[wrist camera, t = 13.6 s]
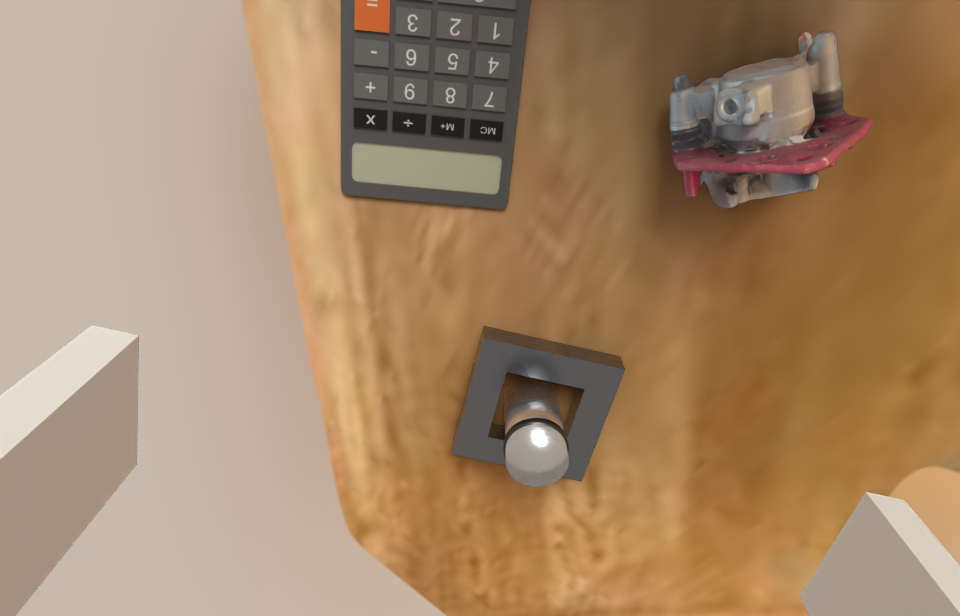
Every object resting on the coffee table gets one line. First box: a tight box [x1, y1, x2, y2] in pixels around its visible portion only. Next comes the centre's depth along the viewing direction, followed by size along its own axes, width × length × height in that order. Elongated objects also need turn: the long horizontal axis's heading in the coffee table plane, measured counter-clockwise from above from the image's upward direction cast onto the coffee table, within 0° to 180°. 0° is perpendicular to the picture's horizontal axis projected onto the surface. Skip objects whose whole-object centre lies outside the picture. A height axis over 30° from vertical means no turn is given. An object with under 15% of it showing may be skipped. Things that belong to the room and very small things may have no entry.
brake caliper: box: [670, 31, 873, 209], centre depth 38 cm, size 11×11×12 cm
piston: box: [503, 376, 569, 487], centre depth 48 cm, size 5×5×8 cm
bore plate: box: [452, 326, 625, 481], centre depth 51 cm, size 11×11×2 cm
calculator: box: [341, 0, 530, 209], centre depth 42 cm, size 12×1×15 cm
